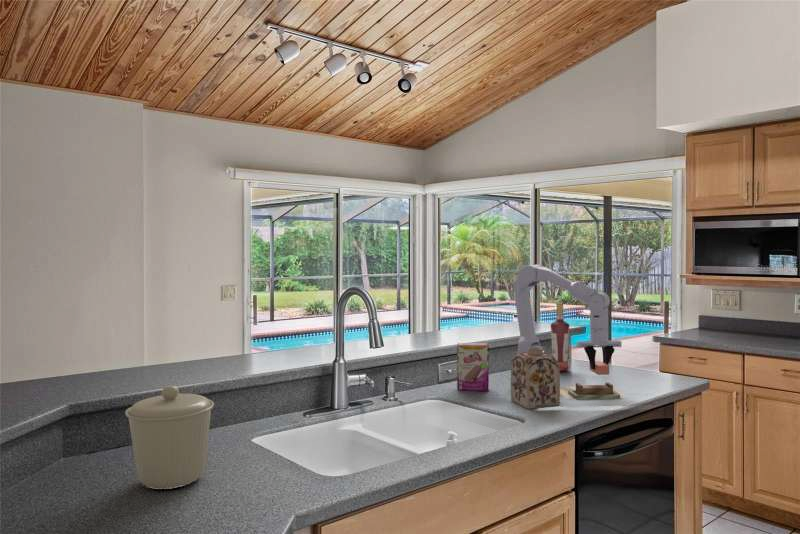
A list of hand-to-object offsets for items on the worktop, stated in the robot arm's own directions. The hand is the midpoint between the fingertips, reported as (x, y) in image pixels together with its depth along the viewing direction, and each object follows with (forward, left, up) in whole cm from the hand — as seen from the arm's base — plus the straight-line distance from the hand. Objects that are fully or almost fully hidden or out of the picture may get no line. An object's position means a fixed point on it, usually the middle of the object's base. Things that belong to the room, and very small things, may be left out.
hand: (599, 368), depth 196 cm
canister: (-118, -65, -10) cm, 136 cm away
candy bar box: (-40, +13, -10) cm, 44 cm away
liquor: (0, +42, -10) cm, 43 cm away
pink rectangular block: (0, 0, -1) cm, 1 cm away
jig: (-3, +1, -9) cm, 10 cm away
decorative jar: (-23, -7, -10) cm, 26 cm away
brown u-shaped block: (-3, -3, -8) cm, 9 cm away
